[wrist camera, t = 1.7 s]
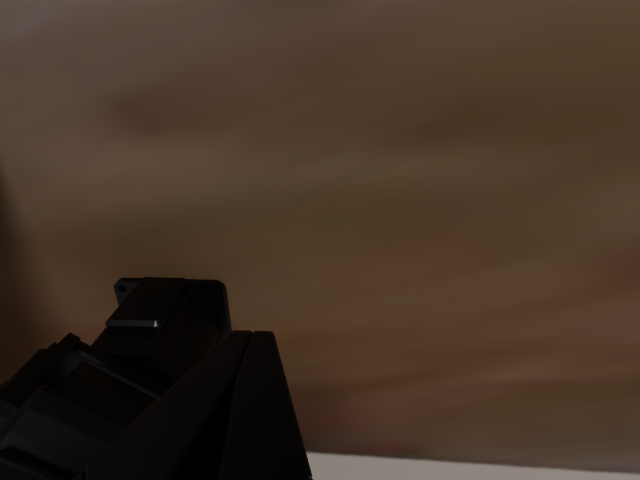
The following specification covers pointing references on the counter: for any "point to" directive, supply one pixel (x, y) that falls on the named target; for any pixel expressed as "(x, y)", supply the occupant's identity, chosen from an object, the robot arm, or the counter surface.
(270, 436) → the robot arm
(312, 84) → the counter surface
